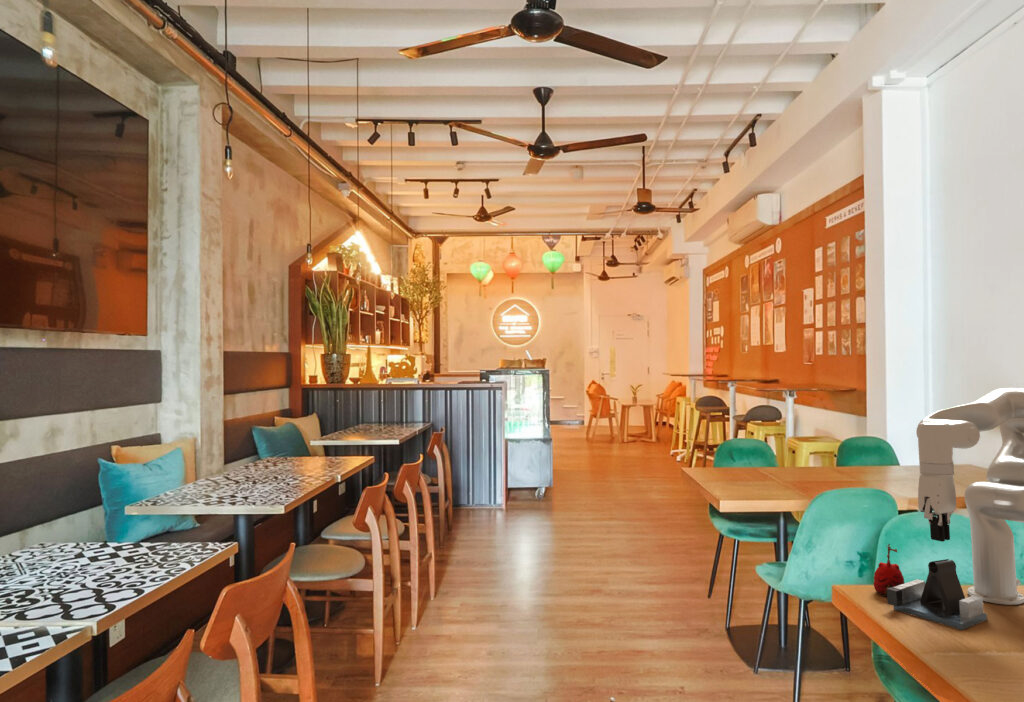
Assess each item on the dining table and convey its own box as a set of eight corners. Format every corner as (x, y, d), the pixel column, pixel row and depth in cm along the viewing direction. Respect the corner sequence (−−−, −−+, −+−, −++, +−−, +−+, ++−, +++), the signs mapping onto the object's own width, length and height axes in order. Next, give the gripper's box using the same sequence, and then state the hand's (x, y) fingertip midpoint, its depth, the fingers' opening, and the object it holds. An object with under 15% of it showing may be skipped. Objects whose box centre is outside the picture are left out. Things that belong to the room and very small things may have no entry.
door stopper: (969, 611, 163) (967, 564, 163) (951, 614, 161) (949, 566, 161) (937, 599, 171) (934, 554, 172) (920, 602, 170) (917, 557, 170)
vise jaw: (917, 593, 176) (916, 579, 176) (926, 596, 173) (926, 581, 173) (887, 603, 169) (886, 588, 169) (897, 606, 167) (896, 591, 167)
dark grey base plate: (919, 600, 175) (918, 580, 176) (987, 619, 161) (985, 597, 161) (893, 609, 170) (892, 588, 170) (961, 630, 155) (960, 607, 155)
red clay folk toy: (903, 592, 182) (900, 539, 183) (906, 600, 176) (904, 545, 176) (873, 589, 185) (870, 537, 186) (875, 597, 179) (872, 543, 179)
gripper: (937, 464, 174) (941, 532, 174) (904, 470, 167) (908, 541, 166) (968, 467, 168) (972, 538, 167) (935, 474, 160) (939, 547, 160)
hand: (940, 539), depth 167 cm, fingers closed
